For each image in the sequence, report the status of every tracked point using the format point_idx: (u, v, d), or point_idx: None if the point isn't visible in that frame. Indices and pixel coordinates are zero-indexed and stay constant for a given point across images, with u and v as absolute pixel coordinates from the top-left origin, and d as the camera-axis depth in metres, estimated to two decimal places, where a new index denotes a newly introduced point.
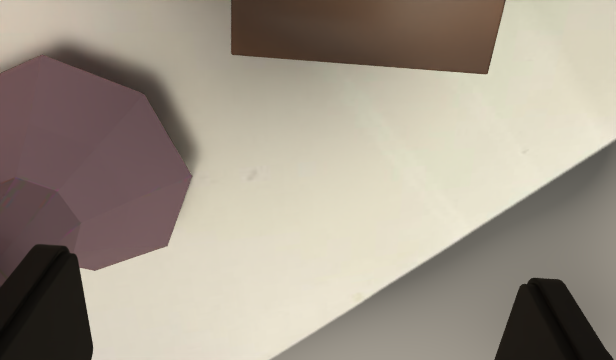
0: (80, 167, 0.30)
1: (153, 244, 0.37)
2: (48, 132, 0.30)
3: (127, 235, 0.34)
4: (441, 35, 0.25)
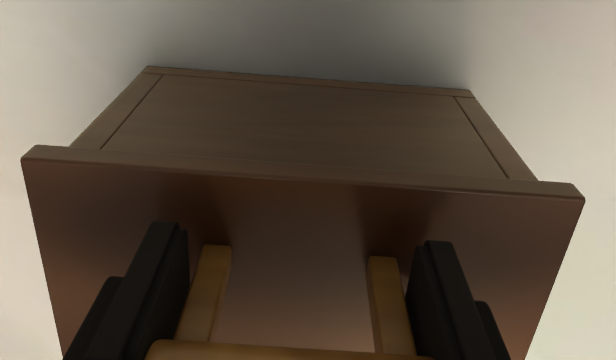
0: None
1: None
2: None
3: None
4: None
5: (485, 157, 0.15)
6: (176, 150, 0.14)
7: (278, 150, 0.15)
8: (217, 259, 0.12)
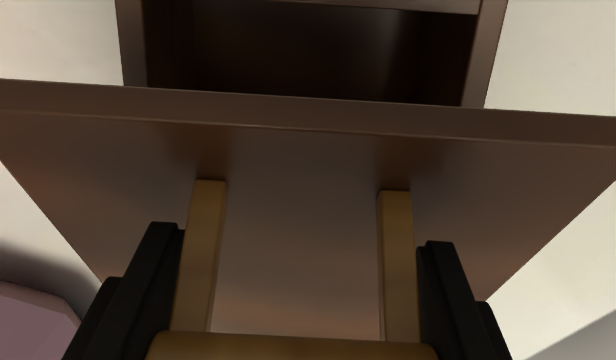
0: None
1: None
2: None
3: None
4: None
5: None
6: None
7: None
8: (210, 203, 0.11)
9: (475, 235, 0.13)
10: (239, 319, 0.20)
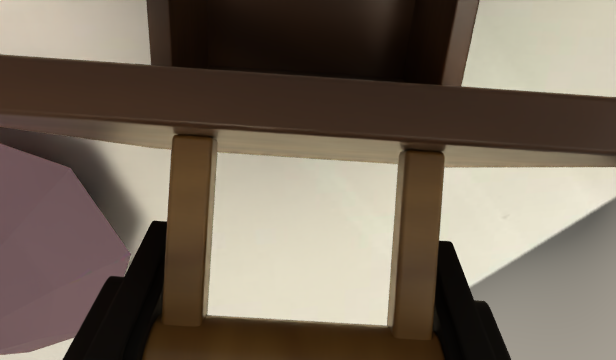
0: None
1: None
2: None
3: (55, 324, 0.30)
4: None
5: None
6: None
7: None
8: (195, 171, 0.09)
9: (515, 161, 0.11)
10: (247, 152, 0.19)
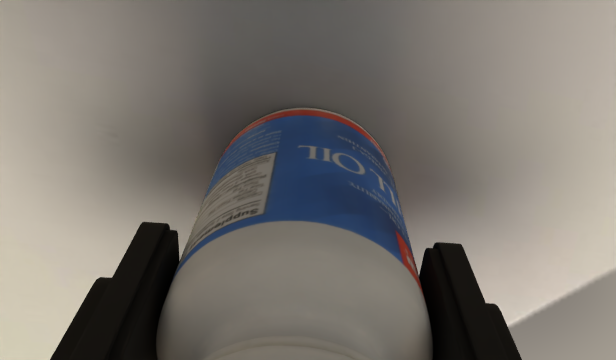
0: None
1: None
2: None
3: None
4: None
5: None
6: None
7: None
8: None
9: None
10: None
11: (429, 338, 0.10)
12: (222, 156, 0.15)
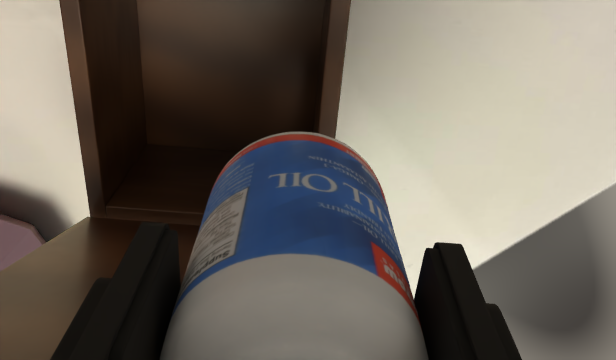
0: None
1: None
2: None
3: None
4: None
5: None
6: None
7: None
8: None
9: None
10: None
11: (417, 344, 0.10)
12: (209, 197, 0.15)
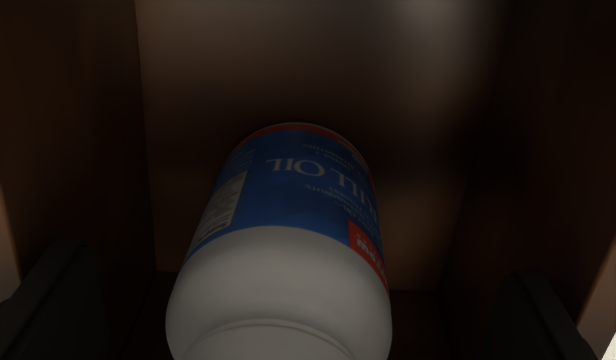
0: None
1: None
2: None
3: None
4: None
5: None
6: None
7: None
8: None
9: None
10: None
11: (379, 304, 0.11)
12: None
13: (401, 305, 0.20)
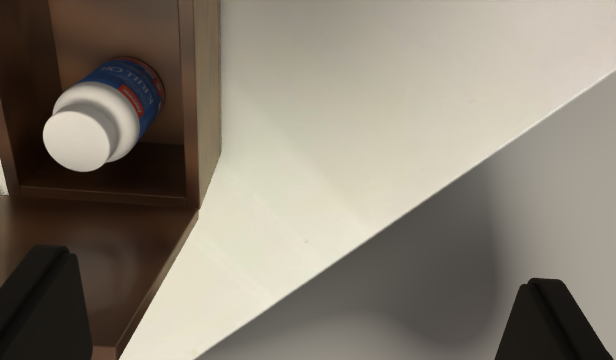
0: None
1: None
2: None
3: None
4: None
5: None
6: None
7: None
8: None
9: None
10: None
11: (125, 108, 0.33)
12: None
13: None
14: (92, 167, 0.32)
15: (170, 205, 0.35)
